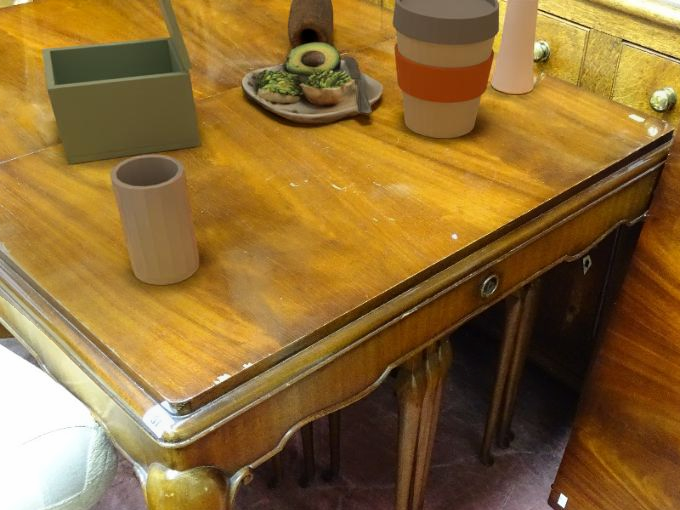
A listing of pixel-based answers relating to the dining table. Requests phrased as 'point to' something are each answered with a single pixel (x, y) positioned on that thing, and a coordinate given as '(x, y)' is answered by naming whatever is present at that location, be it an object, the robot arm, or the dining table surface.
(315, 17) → the stone weight
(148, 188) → the pinkish-brown cup
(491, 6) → the reusable coffee cup
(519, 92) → the cosmetic bottle
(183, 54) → the box lid
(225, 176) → the dining table surface
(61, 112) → the storage box
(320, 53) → the avocado toast plate
